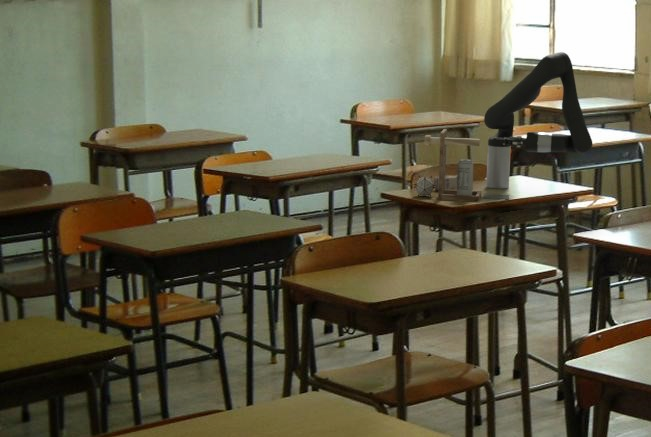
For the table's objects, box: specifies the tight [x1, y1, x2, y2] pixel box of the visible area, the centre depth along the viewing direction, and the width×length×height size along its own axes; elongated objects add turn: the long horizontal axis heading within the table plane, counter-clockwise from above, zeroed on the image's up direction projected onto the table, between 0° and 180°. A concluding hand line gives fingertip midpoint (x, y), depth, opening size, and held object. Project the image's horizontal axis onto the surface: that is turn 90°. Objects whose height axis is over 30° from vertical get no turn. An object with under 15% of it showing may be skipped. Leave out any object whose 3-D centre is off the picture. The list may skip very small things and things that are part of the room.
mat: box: [482, 193, 510, 201], centre depth 479 cm, size 10×10×1 cm
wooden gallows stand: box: [437, 128, 482, 202], centre depth 473 cm, size 13×16×26 cm
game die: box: [413, 175, 435, 198], centre depth 478 cm, size 9×8×10 cm
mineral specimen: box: [433, 174, 457, 191], centre depth 495 cm, size 13×7×6 cm, turn 112°
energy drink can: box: [456, 158, 474, 196], centre depth 474 cm, size 6×6×15 cm
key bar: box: [424, 134, 481, 147], centre depth 472 cm, size 4×21×4 cm, turn 79°
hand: (493, 140), depth 470 cm, fingers closed
